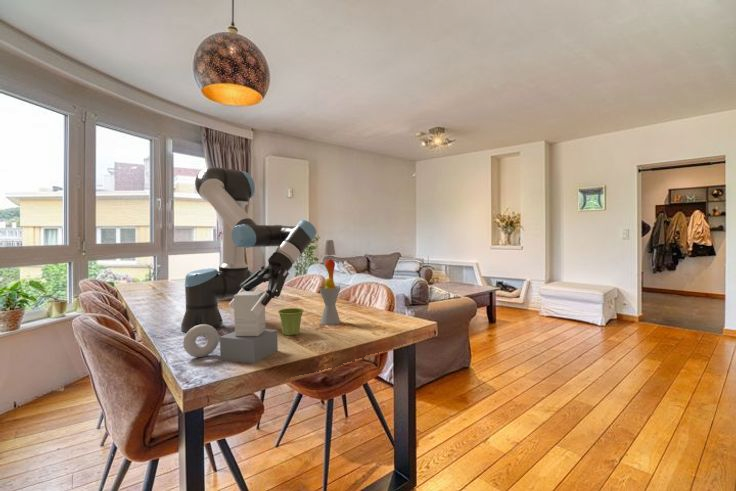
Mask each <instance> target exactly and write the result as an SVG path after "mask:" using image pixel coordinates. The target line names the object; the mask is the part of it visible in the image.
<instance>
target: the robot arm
mask: <svg viewBox="0 0 736 491" xmlns="http://www.w3.org/2000/svg"><path fill="white" fill-rule="evenodd" d="M254 181H255V180H254V179H253V177H252V176H251V174H249V173H248V172H246V171H243V170H241V169H240V170H238V169H231V168H224V167H219V166H218V167H217V166H209V167H206V168H204V169H202V170H201V171H199V173H197V175H196V178H195V181H194V186H195V189H196V191H197V194H198V195H199V196H200V197H201V199H203V200H204V201H207V202H208V203H209V204H210V206H212V208H214V210H215V211H216V212H217V214H219V216H220V217H221V218H222V226H223V227H222V262H221V264H220V265H218V269H217V268H211V267H210V268H209V267H208V268H203V269H198V270H197V269H196V270H193V271H190V272H188V273H187V274H186V275H185V277H184V278H185V279H184V280H185V282H184V287H185V288H184V289H185V290H184V291H185V292H184V294H185V295H184V296H185V311H184V315H183V318H182V320H181V324H180V330H181V332H183V333H187V332H188V331H189V330H190V329H191V328H193V327H194V326H197V325H200V324H207V325H210V326H212V327H213V328H215V329H216V331H217V330H219V329H222V328H223V327H224V321H223V318H222V315H221V312H220V309H219V302H218V301H219V300H224V299H231V298H232V299H231V301H229V303H228V305H229V306H230V307H231V308H233V310H234V295H236V294H238V293H240V292H243V291H252V290H253V289H255V288H256V287H259V285H261V284H262V283H263V284H264V283H267V282H268V283H267V284H268V285H267V290H265V293H264V294H263V295H262V296H261V298H260V299H259V300H258V302H257V303H256V304H255V305H254V307H253V308H252V309H251V311H252V312H253V313H254V314H255V315H256V316H258V315H259V314H260V313H261V312H262V310H263V309H264V308H265V309H266V306H268V304H269V302H271V299H274V298H275V297H276V298H279V297H280V296H281V293H282V290H283V287H284V285H285V282H286V279H287V277H288V276H289V275H290V272H289V271H290V269H292V267H293V265H294V264H295V263H296V262H297V261H298V259H299V257H301V255H302V254H304V251H305V250H306V249H307V248H308V246H309V245H310V244H311V243H312V242H313V240H314V238H315V237H316V236H317V228H316V227H315V226H314V224H313V223H312V222H310V221H308V220H305V219H302V220H300V221H299V222H298V223H296V225H294V226H293V225H292V226H291V225H290V226H289V225H282V224H281V225H280V224H275V225H270V224H269V225H268V224H267V225H266V224H263V225H262V224H257V223H256V222H255V221H254V220H253V219H252V218H251V217H250V215H249V214H248V213H247V212H246V206H247V205H248V204H249V202H250V201H249V200H250V199H252V198H253V196H254V194H255V187H256V186H255V182H254ZM261 247H263V248H264V247H265V248H266V247H268V248H269V247H277V248H276V250H275V252H273V253H272V254H271V256H270V257H269V258H268V260H267V261H268V265H267V266H266V267H265V266H264V265H261V266H260V267H259V268H258V269H257V270H256V271H255V272H254V273H253V272H252V270H251V269H250V268H249V266H248V264H247V263H246V262H245V248H248V249H249V248H261Z"/></svg>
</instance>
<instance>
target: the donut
mask: <svg viewBox="0 0 736 491" xmlns="http://www.w3.org/2000/svg"><path fill="white" fill-rule="evenodd" d="M185 333H186V332H185ZM202 336H204V337H206V338H207V339H206V340H207V341H206V342H205V343H204V344H202V345H198V344H197V343H196V341H197V339H198V338H199V337H202ZM219 343H220V336H219V332H218V331H217V330H216V329H215V328H213V327H212V326H210V325H207V324H200V325H197V326H194V327H193V328H191V329H190V330H189V331H188V332H187V333H186V334H185V336H184V337H183V341H182V344H183V349H184V350H185V352H186V353H187V354H189V356H191V357H194V358H203V357H207V356H208V355H210V354H212V353H213V352H214V351H215V350H216V348H217V347H218V344H219Z"/></svg>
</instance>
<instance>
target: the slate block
mask: <svg viewBox="0 0 736 491" xmlns="http://www.w3.org/2000/svg"><path fill="white" fill-rule="evenodd" d="M219 344H220V345H219V347H220V350H219V354H220V356H219V357H220V360H223V361H224V360H225V361H230V362H231V361H232V362H239V363H247V364H257V363H258V362H260V361H261V359H262V360H264V359H265V358H267V357H269V356H271V355H273V354H274V353H276V352H278V351H277V350H278V348H279V347H278V329H271V328H270V329H268V328H266V330H265V331H264V332H263V333H261V334H260V335H259V336H235V331H232V332H230V333H227V334H225V335H221V336H219ZM275 351H276V352H275ZM273 352H274V353H273ZM272 353H273V354H272ZM270 354H271V355H270ZM268 355H269V356H268ZM266 356H267V357H266ZM264 357H265V358H264ZM259 360H260V361H259Z"/></svg>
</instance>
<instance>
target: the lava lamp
mask: <svg viewBox="0 0 736 491" xmlns="http://www.w3.org/2000/svg"><path fill="white" fill-rule="evenodd" d="M324 245H325V246H324V252H323V255H324V256H334V255H335V256H336V250H335V249H336V248H335V243H334V240H333V239H326V240H325V244H324ZM335 266H336V263H335V261H334V260H333V259H330V258H329V259H327V260H326V261H325V262H324V268H326V271H327V273H328V278H326V279H325V281H324V284H325V285H323V286H319V291H320V292H319V293H320V295H321V297H322V300H323V303H324V307H323V311H322V315H321V319H320V322H319V324H320V323H321V325H324V326H333V325H334V326H335V325H339V324H340V323H341V318H340V316H339V313H338V309H337V307H336V303H337V300H338V297H339V294H340V291H341V286H340V285H336V284H335V282H334V272H335Z"/></svg>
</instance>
